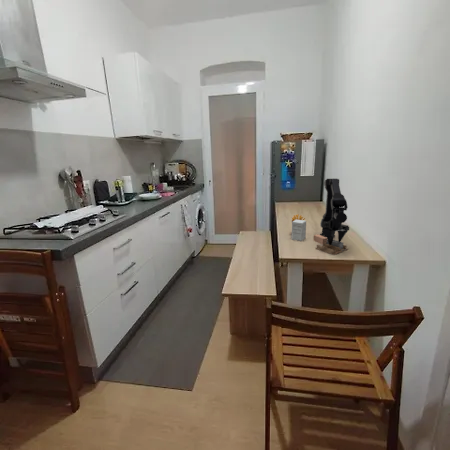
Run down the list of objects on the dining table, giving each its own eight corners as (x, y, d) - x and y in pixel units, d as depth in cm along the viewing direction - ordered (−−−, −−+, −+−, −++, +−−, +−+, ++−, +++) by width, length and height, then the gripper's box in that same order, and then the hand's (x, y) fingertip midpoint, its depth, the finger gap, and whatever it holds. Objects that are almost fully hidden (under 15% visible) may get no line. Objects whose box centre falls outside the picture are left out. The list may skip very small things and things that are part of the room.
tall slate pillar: (326, 246, 160) (326, 239, 159) (329, 244, 162) (330, 238, 161) (339, 250, 153) (339, 243, 152) (342, 248, 155) (343, 242, 153)
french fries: (291, 236, 183) (292, 215, 179) (290, 232, 190) (291, 212, 186) (304, 236, 181) (305, 215, 177) (303, 232, 189) (304, 212, 185)
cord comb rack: (315, 248, 158) (315, 244, 157) (328, 244, 164) (328, 240, 164) (334, 255, 147) (334, 251, 146) (347, 250, 154) (348, 246, 153)
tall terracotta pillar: (313, 240, 173) (313, 234, 172) (317, 239, 174) (318, 234, 173) (322, 244, 164) (323, 238, 163) (327, 243, 166) (327, 238, 165)
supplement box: (295, 236, 181) (296, 219, 178) (305, 238, 177) (306, 220, 174) (290, 239, 176) (291, 221, 173) (301, 241, 171) (302, 223, 168)
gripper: (334, 213, 164) (332, 237, 168) (315, 218, 154) (313, 243, 158) (350, 216, 155) (348, 241, 159) (331, 222, 145) (329, 248, 149)
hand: (334, 243), depth 157 cm, fingers open, 9 cm apart
